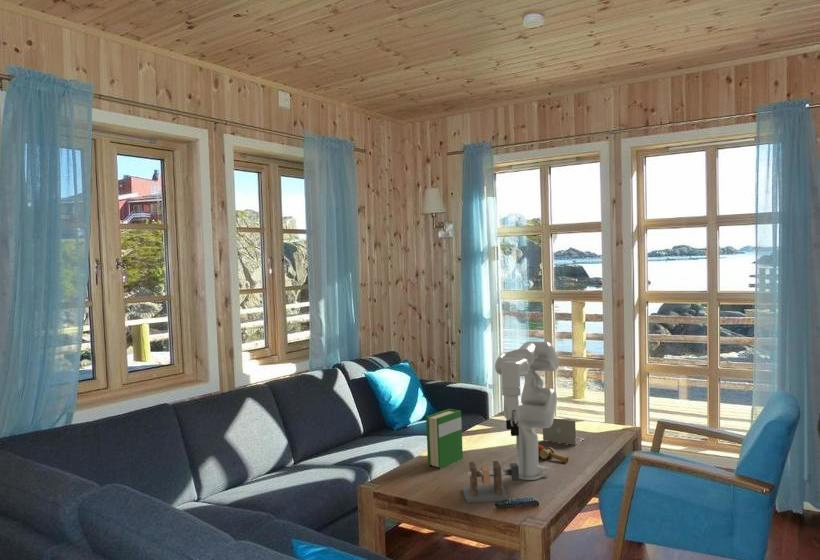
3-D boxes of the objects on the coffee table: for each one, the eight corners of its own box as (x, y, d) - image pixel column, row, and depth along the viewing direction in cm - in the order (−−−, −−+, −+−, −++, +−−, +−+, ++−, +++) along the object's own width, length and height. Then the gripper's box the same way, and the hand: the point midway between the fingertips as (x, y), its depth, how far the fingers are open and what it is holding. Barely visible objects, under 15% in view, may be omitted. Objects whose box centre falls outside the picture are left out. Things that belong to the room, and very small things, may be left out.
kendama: (571, 462, 298) (537, 451, 310) (571, 451, 297) (537, 439, 308) (563, 470, 293) (529, 458, 305) (563, 458, 291) (529, 446, 303)
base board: (502, 487, 266) (502, 484, 266) (508, 500, 252) (508, 496, 252) (462, 489, 266) (462, 486, 266) (466, 502, 252) (466, 499, 252)
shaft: (517, 477, 261) (516, 463, 261) (519, 480, 257) (518, 466, 257) (468, 479, 261) (467, 465, 260) (469, 483, 257) (468, 468, 256)
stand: (498, 487, 263) (497, 460, 263) (502, 494, 255) (501, 467, 255) (470, 488, 263) (469, 462, 262) (472, 495, 255) (471, 468, 254)
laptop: (584, 440, 330) (584, 415, 330) (575, 446, 320) (575, 421, 320) (552, 435, 341) (551, 411, 340) (543, 441, 331) (542, 417, 330)
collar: (487, 479, 262) (486, 465, 262) (489, 485, 256) (489, 470, 256) (481, 480, 262) (481, 465, 262) (483, 485, 256) (483, 470, 256)
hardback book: (440, 469, 292) (438, 418, 292) (428, 466, 297) (426, 416, 297) (462, 459, 306) (461, 410, 305) (450, 456, 311) (449, 408, 310)
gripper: (498, 387, 266) (499, 427, 267) (505, 396, 249) (507, 438, 250) (516, 386, 267) (517, 426, 267) (524, 395, 249) (526, 437, 250)
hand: (512, 432), depth 258 cm, fingers open, 9 cm apart
